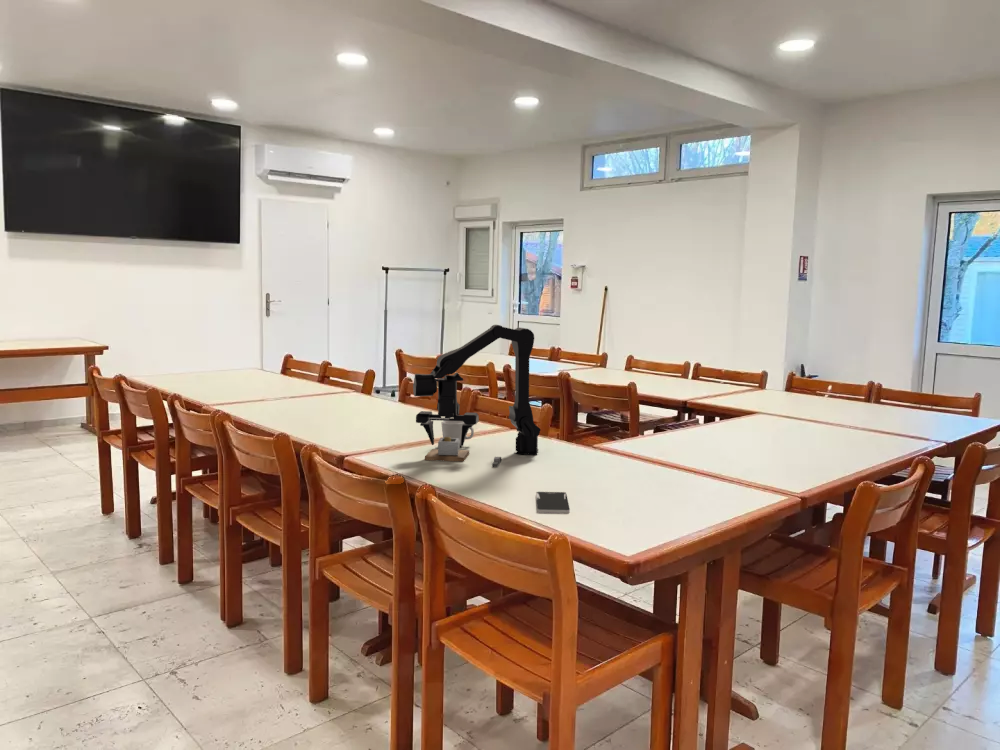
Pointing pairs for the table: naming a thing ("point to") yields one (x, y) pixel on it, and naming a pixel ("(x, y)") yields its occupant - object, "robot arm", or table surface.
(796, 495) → the table surface
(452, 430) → the cup
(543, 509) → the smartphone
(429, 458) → the wooden peg board
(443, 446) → the end link
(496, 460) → the grey long bar
